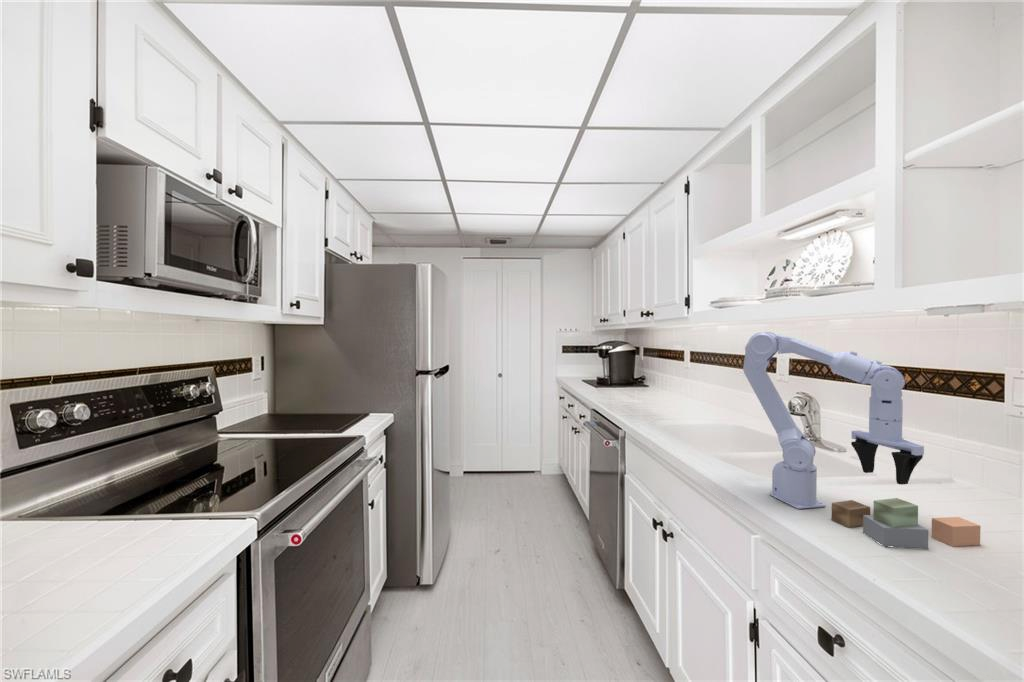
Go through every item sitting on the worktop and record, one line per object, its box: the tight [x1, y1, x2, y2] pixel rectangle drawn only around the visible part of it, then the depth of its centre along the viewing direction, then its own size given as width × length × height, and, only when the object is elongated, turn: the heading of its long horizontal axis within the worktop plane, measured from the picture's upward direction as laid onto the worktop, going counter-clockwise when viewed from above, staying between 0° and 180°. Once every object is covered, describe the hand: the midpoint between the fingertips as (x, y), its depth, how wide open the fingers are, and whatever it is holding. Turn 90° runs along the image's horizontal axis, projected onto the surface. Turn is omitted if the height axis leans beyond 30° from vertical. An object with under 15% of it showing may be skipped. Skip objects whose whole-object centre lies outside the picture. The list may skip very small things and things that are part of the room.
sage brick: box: [873, 497, 919, 528], centre depth 88 cm, size 4×6×4 cm, turn 101°
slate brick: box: [862, 514, 929, 550], centre depth 88 cm, size 6×8×4 cm
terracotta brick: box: [931, 516, 981, 547], centre depth 87 cm, size 4×6×4 cm, turn 94°
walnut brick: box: [831, 499, 871, 529], centre depth 96 cm, size 4×6×4 cm, turn 104°
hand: (884, 477), depth 97 cm, fingers open, 7 cm apart
